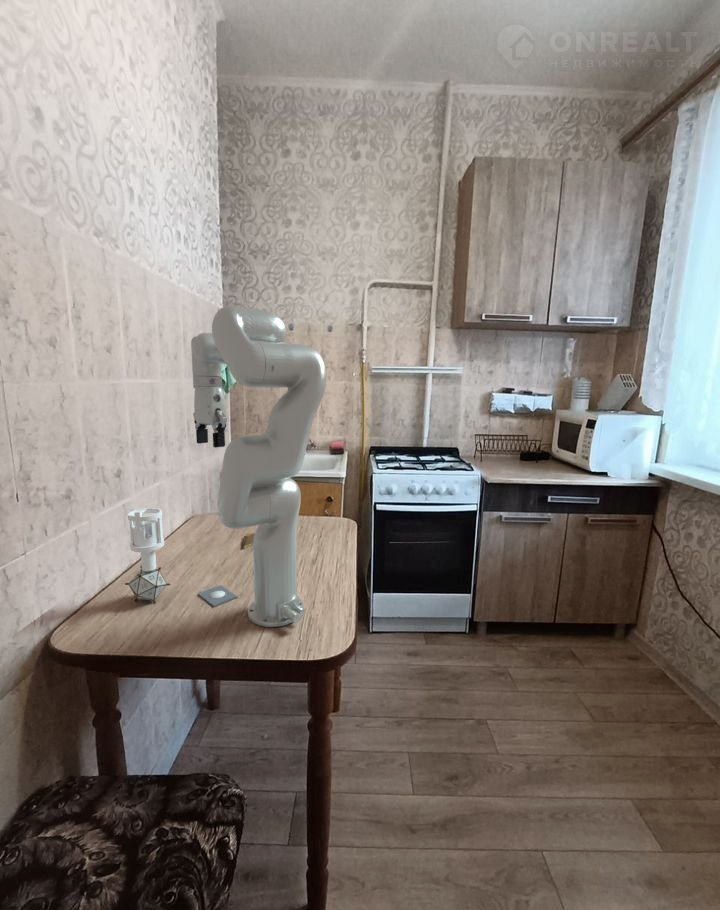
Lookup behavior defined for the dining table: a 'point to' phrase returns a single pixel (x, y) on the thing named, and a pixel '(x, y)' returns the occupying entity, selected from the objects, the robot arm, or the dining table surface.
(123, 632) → the dining table surface
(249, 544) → the shard
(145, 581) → the game die
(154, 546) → the white cylindrical housing
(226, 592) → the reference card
